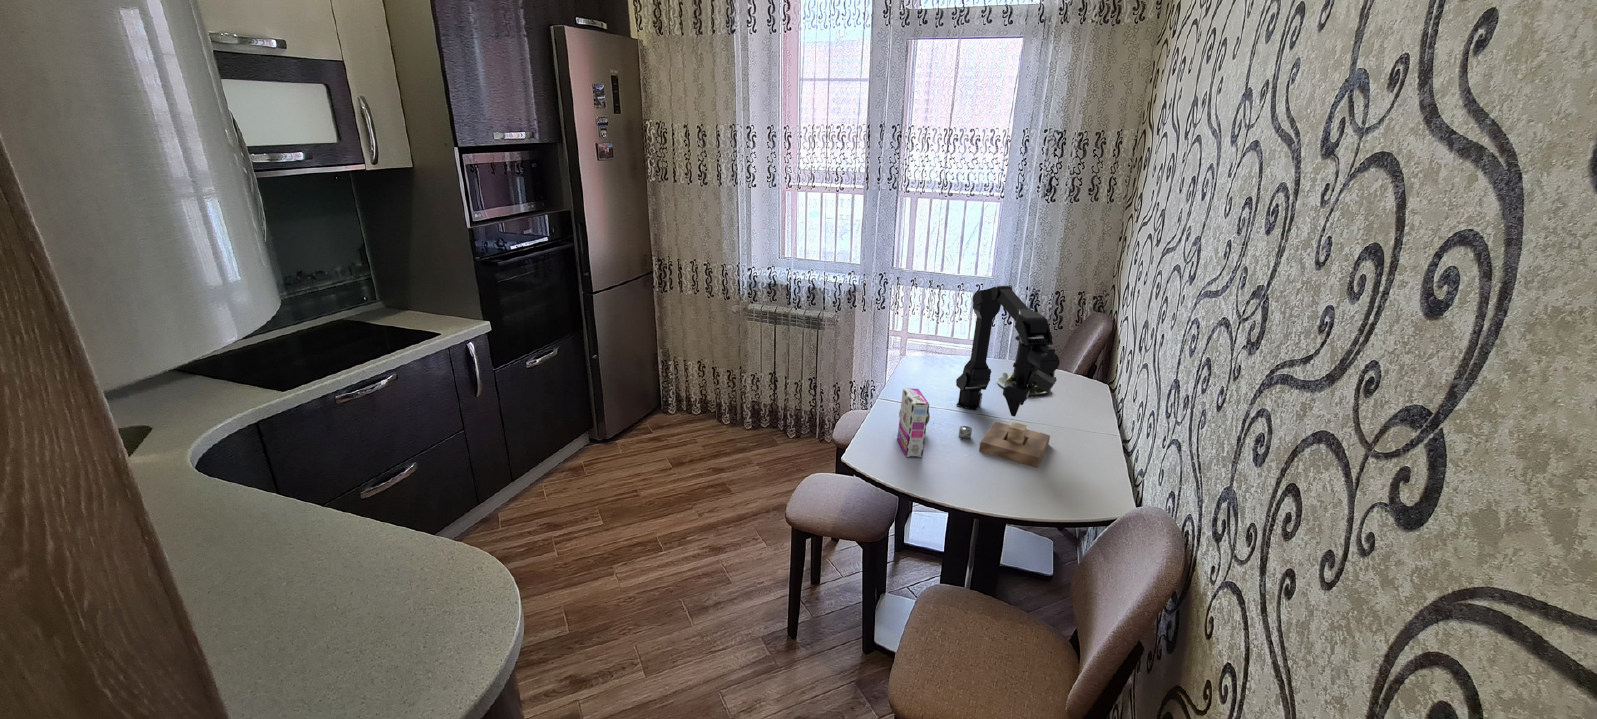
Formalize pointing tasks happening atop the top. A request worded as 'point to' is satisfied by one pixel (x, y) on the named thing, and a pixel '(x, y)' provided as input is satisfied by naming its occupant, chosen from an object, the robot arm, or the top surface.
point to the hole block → (1014, 445)
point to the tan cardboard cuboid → (1016, 433)
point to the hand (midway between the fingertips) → (1017, 410)
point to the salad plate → (1006, 380)
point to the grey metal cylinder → (965, 432)
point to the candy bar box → (913, 422)
